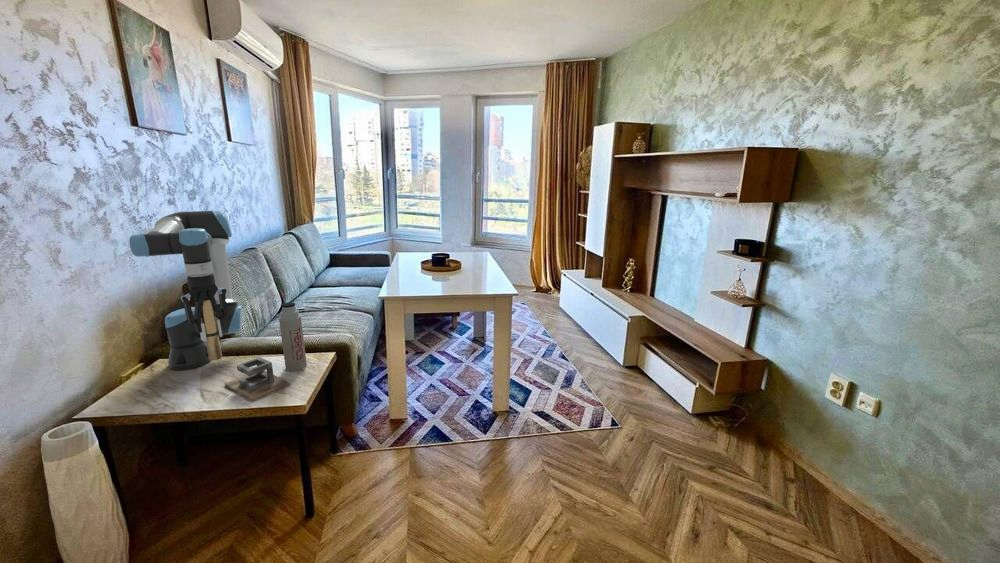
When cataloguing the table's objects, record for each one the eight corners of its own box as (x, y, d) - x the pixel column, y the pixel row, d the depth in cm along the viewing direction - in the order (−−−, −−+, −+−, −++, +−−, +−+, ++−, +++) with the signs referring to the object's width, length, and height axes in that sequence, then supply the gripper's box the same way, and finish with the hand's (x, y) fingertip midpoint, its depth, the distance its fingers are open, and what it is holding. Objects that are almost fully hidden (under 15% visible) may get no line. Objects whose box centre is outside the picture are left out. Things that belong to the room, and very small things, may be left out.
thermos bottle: (309, 367, 170) (301, 304, 163) (288, 373, 165) (279, 308, 158) (303, 361, 176) (296, 299, 169) (283, 366, 171) (274, 303, 164)
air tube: (206, 358, 146) (195, 300, 140) (219, 354, 149) (209, 297, 144) (211, 361, 143) (200, 302, 138) (224, 357, 147) (214, 299, 141)
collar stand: (224, 385, 155) (220, 364, 153) (261, 371, 167) (258, 351, 164) (252, 401, 145) (248, 378, 142) (290, 384, 156) (287, 363, 154)
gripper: (174, 281, 130) (187, 348, 135) (232, 271, 143) (243, 333, 149) (165, 277, 134) (178, 343, 139) (223, 268, 147) (233, 328, 153)
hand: (212, 338), depth 144 cm, fingers closed on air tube, 4 cm apart
